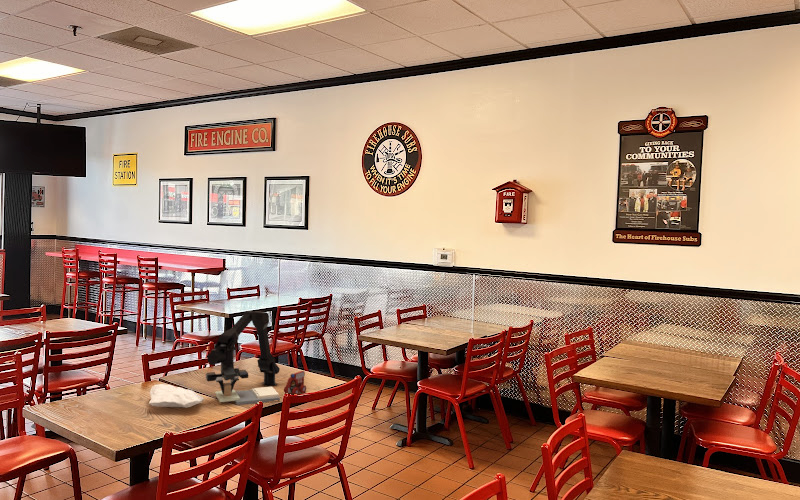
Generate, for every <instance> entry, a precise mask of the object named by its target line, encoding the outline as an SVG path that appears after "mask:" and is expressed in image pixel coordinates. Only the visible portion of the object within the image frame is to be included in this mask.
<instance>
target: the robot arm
mask: <svg viewBox="0 0 800 500" xmlns="http://www.w3.org/2000/svg"><path fill="white" fill-rule="evenodd" d="M251 322H252V325H253V327H254V328H255V329H256V332H257V333H256V334H257V338H258V345H259V351H260V356H259V358H258V359H257V367H258V369H259V372H260V373H263V381H262V382H261V384H262V385H263V386H264V387H271V386H270V385H273V386H277V385H278V384H277V382H276V375H278V374H279V373H280V369H281V368H280V367H279V365H277V363H276V359H275V356H273V354H272V353H271V346H270V340H269V334H268V326H269V324H270V315H269V313H268V312H266V311H260V310H258V311H257V310H255V311H250V310H246V311H244V312H243V314H242V315H241V317H240V318H239V319H238V320H237V322H236V323H234V324H233V325H232V327H230V329H227V330H225V331H223V332H222V333H221V334H220V335H219V337H218V340H217V342H216V344H215V346H214V349H211V350H210V352H209V353H208V354H207V356H206V357H207V362H208V364H209V365H211V366H215V365H218V364H220V373H215V372H213V371H212V372H207V373H206V374H205V380H206V381H207V382H216V383H218V385H219V386H220V389H221V390H220V391H222V393H223V394H224V386H223V383H224V381H228V380H230V381H229V383H230V384H231V393H232V390H234V387H235V385H236V383H237V382H238V381H240V378H241V379H249V372H248V371H247V370H246V369H240V368H239V367H237V368H235V367H234V366H235V364H234V362H235V361H234V360H235V359H234V356H235V354H234V353H235V351H236V350H237V349H238V348H237V347H236V344H237V343H238V341H239V338H240V337H239V336H240V334H242V333H243V331H244V330H245V329H246V328H247V327H248V325H250V324H251Z"/></svg>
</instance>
